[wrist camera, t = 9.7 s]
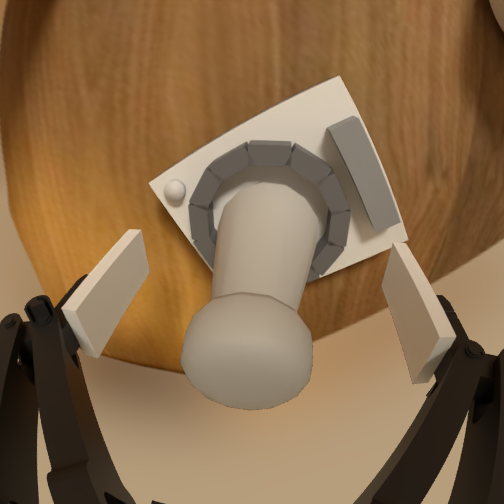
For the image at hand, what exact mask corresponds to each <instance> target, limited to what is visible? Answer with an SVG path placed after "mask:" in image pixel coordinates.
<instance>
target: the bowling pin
mask: <svg viewBox="0 0 504 504" xmlns="http://www.w3.org/2000/svg"><path fill="white" fill-rule="evenodd" d="M317 241H318V218H317V217H316V215H315V213H314V212H313V210H312V208H311V207H310V205H309V204H308V202H307V200H306V199H305V198H304V197H303V196H302V195H300V194H299V193H297V192H296V191H294V190H293V189H291V188H290V187H288V186H287V185H283V184H275V183H266V182H262V183H258V184H255V185H252V186H249V187H245V188H242V189H241V190H240V191H239V192H238V193H237V194H236V195H235V196H234V197H233V198H232V199H231V200H230V201H229V202H228V203H227V204H226V205H225V206H224V208H223V212H222V215H221V218H220V221H219V225H218V232H217V241H216V250H215V259H214V269H213V279H212V289H211V300H210V302H209V303H207V304H206V305H205V306H204V307H203V308H201V309H200V310H199V311H198V312H197V313H196V314H195V315H194V316H193V317H192V319H191V322H190V324H189V326H188V328H187V331H186V334H185V338H184V342H183V345H182V351H181V358H180V363H181V366H182V368H183V370H184V372H185V374H186V376H187V378H188V380H189V381H190V383H191V384H192V385H193V387H195V388H196V389H197V390H198V391H199V392H201V393H202V394H203V395H204V396H205V397H207V398H208V399H210V400H212V401H215V402H217V403H220V404H222V405H225V406H227V407H232V408H238V409H245V410H259V409H268V408H273V407H275V406H278V405H280V404H282V403H285V402H288V401H289V400H291V399H293V398H294V397H296V396H298V394H299V393H300V392H301V391H302V389H303V388H304V387H305V386H306V385H307V384H308V382H309V380H310V375H311V370H312V358H313V345H312V338H311V332H310V331H309V329H308V327H307V326H306V324H305V323H304V322H303V320H302V319H301V318H300V316H299V315H298V314H297V311H298V308H299V305H300V301H301V298H302V295H303V291H304V288H305V284H306V281H307V277H308V274H309V270H310V267H311V263H312V259H313V256H314V252H315V248H316V244H317Z"/></svg>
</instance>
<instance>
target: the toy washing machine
mask: <svg viewBox="0 0 504 504" xmlns="http://www.w3.org/2000/svg"><path fill="white" fill-rule="evenodd" d="M262 182H266V183H275V184H283V185H287V186H288V187H290V188H291V189H293V190H294V191H296V192H297V193H299V194H300V195H302V196H303V197H304V198H305V199H306V200H307V202H308V204H309V205H310V207H311V208H312V210H313V212H314V213H315V215H316V217H317V218H318V241H317V244H316V248H315V252H314V256H313V259H312V263H311V267H310V270H309V274H308V277H307V281H306V283H308V282H311V281H313V280H316V279H318V278H321V277H323V276H326V275H328V274H330V273H333V272H335V271H338V270H340V269H342V268H345V267H347V266H350V265H352V264H354V263H357V262H359V261H361V260H364V259H366V258H368V257H371V256H373V255H375V254H378V253H380V252H382V251H384V250H387V249H389V248H391V247H392V243H402V242H405V241H407V240H408V237H407V234H406V230H405V227H404V224H403V221H402V218H401V215H400V212H399V209H398V206H397V203H396V200H395V198H394V195H393V192H392V189H391V187H390V184H389V181H388V179H387V176H386V174H385V171H384V169H383V166H382V164H381V161H380V159H379V156H378V154H377V152H376V149H375V147H374V145H373V142H372V140H371V138H370V136H369V133H368V131H367V129H366V127H365V125H364V123H363V121H362V118H361V116H360V114H359V112H358V110H357V108H356V106H355V104H354V102H353V100H352V98H351V96H350V94H349V93H348V91H347V89H346V87H345V85H344V83H343V81H342V79H341V78H340V76H336V77H332V78H329V79H327V80H325V81H322V82H320V83H318V84H316V85H314V86H312V87H309V88H307V89H305V90H303V91H301V92H299V93H297V94H295V95H293V96H291V97H289V98H287V99H285V100H283V101H281V102H279V103H277V104H275V105H273V106H271V107H269V108H267V109H266V110H264V111H262V112H260V113H258V114H256V115H254V116H253V117H251V118H249V119H247V120H245V121H244V122H242V123H240V124H238V125H237V126H235V127H233V128H231V129H230V130H228V131H226V132H225V133H223V134H221V135H219V136H218V137H216V138H214V139H213V140H211V141H210V142H208V143H206V144H205V145H203V146H201V147H200V148H198V149H197V150H195V151H194V152H192V153H190V154H189V155H187V156H186V157H184V158H183V159H181V160H180V161H178V162H177V163H175V164H174V165H172V166H171V167H169V168H168V169H166V170H165V171H164V172H162V173H161V174H160V175H158V176H157V177H156V178H155V179H153V180H152V181H151V182H150V183H149V185H150V186H151V188H152V189H153V191H154V192H155V193H156V195H157V196H158V198H159V199H160V201H161V202H162V203H163V205H164V206H165V208H166V209H167V211H168V212H169V213H170V215H171V216H172V218H173V219H174V220H175V222H176V223H177V225H178V226H179V227H180V229H181V230H182V232H183V233H184V234H185V236H186V237H187V238H188V240H189V241H190V243H191V244H192V245H193V247H194V248H195V249H196V251H197V252H198V254H199V255H200V256H201V258H202V259H203V260H204V262H205V263H206V264H207V266H208V267H209V268H210V270H211V271H212V272H213V269H214V259H215V250H216V241H217V232H218V225H219V221H220V218H221V215H222V212H223V208H224V206H225V205H226V204H227V203H228V202H229V201H230V200H231V199H232V198H233V197H234V196H235V195H236V194H237V193H238V192H239V191H240V190H241V189H242V188H245V187H249V186H252V185H255V184H258V183H262Z"/></svg>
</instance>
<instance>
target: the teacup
mask: <svg viewBox="0 0 504 504" xmlns="http://www.w3.org/2000/svg"><path fill="white" fill-rule="evenodd" d="M489 2H490V5H491V8H492V11H493V13H494V15H495V18H496V20H497V22H498V24H499V25H500V27H501V29H502V31H503V32H504V0H489Z"/></svg>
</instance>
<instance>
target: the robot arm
mask: <svg viewBox="0 0 504 504" xmlns="http://www.w3.org/2000/svg"><path fill="white" fill-rule="evenodd" d="M149 273H150V271H149V266H148V261H147V257H146V252H145V247H144V242H143V236H142V231H141V230H135V229H129V230H128V231H127V232H126V233H125V234H124V235H123V236H122V237H121V239H120V240H119V241H118V242H117V243H116V244H115V245H114V246H113V247H112V248H111V250H110V251H109V252H108V253H107V254H106V255H105V256H104V257H103V259H102V260H101V261H100V262H99V263H98V264H97V265H96V267H95V268H94V269H93V270H92V271H91V272H90V274H86V275H84V276H83V277H81V278H80V279H78V280H77V281H76V283H75V284H74V285H73V286H72V288H70V290H69V291H68V293H66V295H65V296H64V297H63V298H62V299H61V301H60V302H59V303H58V304H57V306H56V307H55V308H54V307H53V305H52V303H51V301H50V298H49V297H48V296H46V295H41V296H36V297H34V298H32V299H31V300H30V301H29V302H28V303H27V304H26V306H25V308H24V310H25V312H26V314H27V316H28V318H29V320H30V321H28V322H23V321H22V319H21V317H20V315H19V314H17V313H13V314H9V315H7V316H6V317H5V318H4V319H3V320H2V321H1V323H0V504H39V496H38V480H37V426H38V425H37V424H38V410H39V412H40V418H41V424H42V429H43V434H44V439H45V443H46V447H47V451H48V456H49V460H50V463H51V468H52V469H51V472H49V473H48V474H47V482H48V486H49V489H50V493H51V496H52V499H53V502H54V504H136V503H135V501H134V499H133V498H132V496H131V495H130V494H129V492H128V491H127V490H126V489H125V487H124V486H123V484H122V482H121V480H120V478H119V476H118V473H117V471H116V469H115V466H114V464H113V462H112V460H111V457H110V454H109V452H108V449H107V447H106V444H105V442H104V439H103V436H102V433H101V431H100V428H99V425H98V422H97V419H96V416H95V413H94V410H93V407H92V403H91V400H90V397H89V393H88V390H87V386H86V383H85V379H84V375H83V372H82V367H81V363H80V359H79V356H78V354H77V352H76V351H77V350H78V348H79V347H81V349H82V351H83V353H84V354H85V355H87V356H91V357H95V358H99V356H100V354H101V353H102V351H103V349H104V347H105V345H106V344H107V342H108V340H109V338H110V337H111V335H112V333H113V332H114V330H115V328H116V326H117V325H118V323H119V321H120V320H121V318H122V316H123V315H124V313H125V311H126V310H127V308H128V306H129V305H130V303H131V301H132V300H133V298H134V297H135V295H136V293H137V292H138V290H139V289H140V287H141V285H142V284H143V282H144V281H145V279H146V277H147V276H148V274H149ZM381 287H382V290H383V292H384V295H385V298H386V301H387V303H388V306H389V309H390V312H391V315H392V318H393V321H394V324H395V327H396V330H397V333H398V336H399V339H400V342H401V345H402V349H403V352H404V355H405V359H406V362H407V366H408V369H409V373H410V377H411V380H412V384H418V383H428V382H429V380H430V379H431V377H432V376H433V374H434V375H435V378H436V382H435V384H434V385H433V387H432V388H431V389H430V391H429V392H428V394H427V395H426V396H427V398H426V400H425V402H424V404H423V406H422V408H421V409H420V411H419V413H418V414H417V416H416V418H415V420H414V421H413V423H412V424H411V426H410V428H409V429H408V431H407V433H406V434H405V436H404V437H403V439H402V440H401V442H400V443H399V445H398V446H397V448H396V449H395V451H394V452H393V453H392V455H391V456H390V458H389V459H388V461H387V462H386V463H385V465H384V466H383V468H382V469H381V470H380V471H379V473H378V474H377V475H376V477H375V478H374V479H373V480H372V482H371V483H370V484H369V485H368V487H367V488H366V489H365V490H364V492H363V493H362V494H361V495H360V497H359V498H358V499H357V500H356V501H355V502H354V503H353V504H421V502H422V501H423V499H424V497H425V496H426V494H427V493H428V491H429V489H430V488H431V486H432V484H433V483H434V481H435V479H436V477H437V475H438V474H439V472H440V470H441V468H442V466H443V465H444V463H445V461H446V459H447V457H448V455H449V453H450V451H451V449H452V447H453V444H454V442H455V440H456V438H457V436H458V434H459V431H460V429H461V427H462V424H463V422H464V420H465V417H466V415H467V412H468V410H469V413H468V420H467V426H466V433H465V438H464V443H463V448H462V453H461V458H460V462H459V466H458V471H457V474H456V478H455V482H454V486H453V489H452V493H451V496H450V499H449V502H448V504H504V349H503V350H502V351H501V352H500V354H499V355H498V356H495V355H490V354H485V351H484V349H483V348H482V347H481V345H479V344H478V343H477V342H475V341H472V340H469V339H468V336H467V334H466V332H465V330H464V328H463V327H462V324H461V323H460V321H459V319H458V318H457V315H456V313H455V312H454V309H453V307H452V306H451V304H450V302H449V301H448V300H446V298H445V297H444V296H442V295H435V293H434V291H433V289H432V287H431V285H430V284H429V282H428V280H427V278H426V277H425V275H424V273H423V271H422V270H421V268H420V266H419V264H418V263H417V261H416V259H415V258H414V256H413V254H412V253H411V251H410V249H409V248H408V246H407V245H406V243H392V247H391V251H390V255H389V259H388V263H387V267H386V271H385V274H384V278H383V281H382V285H381ZM18 359H19V362H18ZM151 504H164V503H160V502H156V501H152V503H151Z"/></svg>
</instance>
